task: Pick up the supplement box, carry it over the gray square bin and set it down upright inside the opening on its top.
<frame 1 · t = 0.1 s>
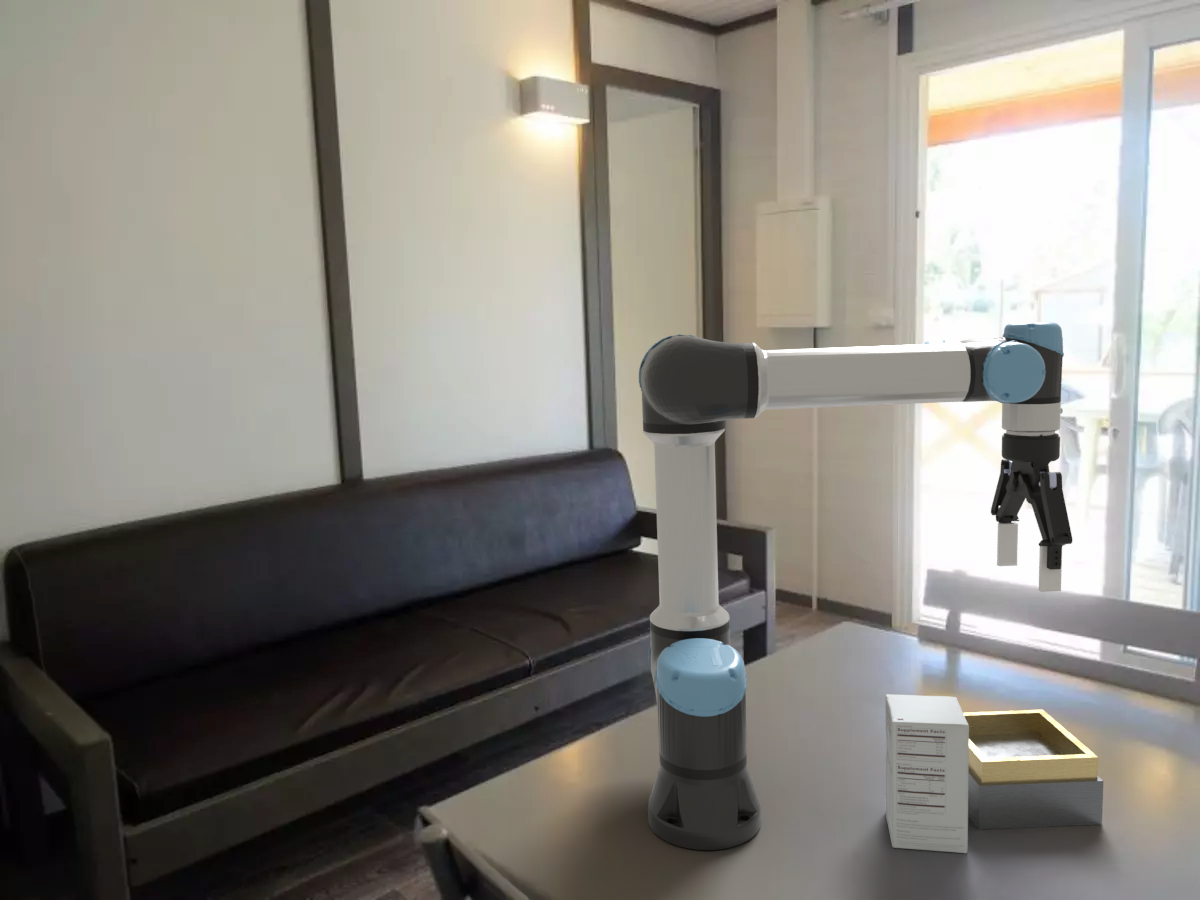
hand: (1027, 577, 136), 28 cm above the table, fingers open, 13 cm apart
gray square bin: (1012, 796, 129), on the table
supplement box: (924, 833, 121), on the table
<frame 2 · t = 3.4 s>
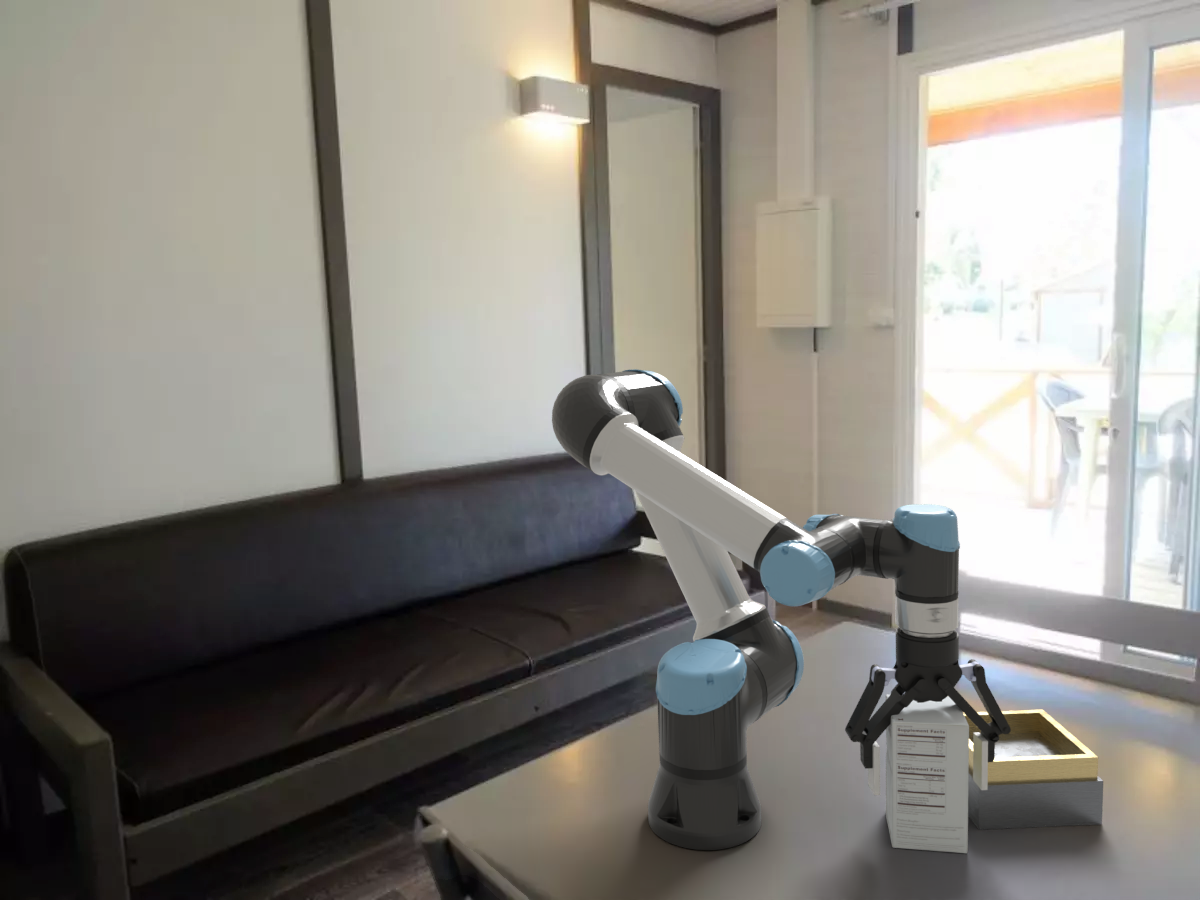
hand: (927, 788, 120), 6 cm above the table, fingers open, 13 cm apart
nothing on the table moved.
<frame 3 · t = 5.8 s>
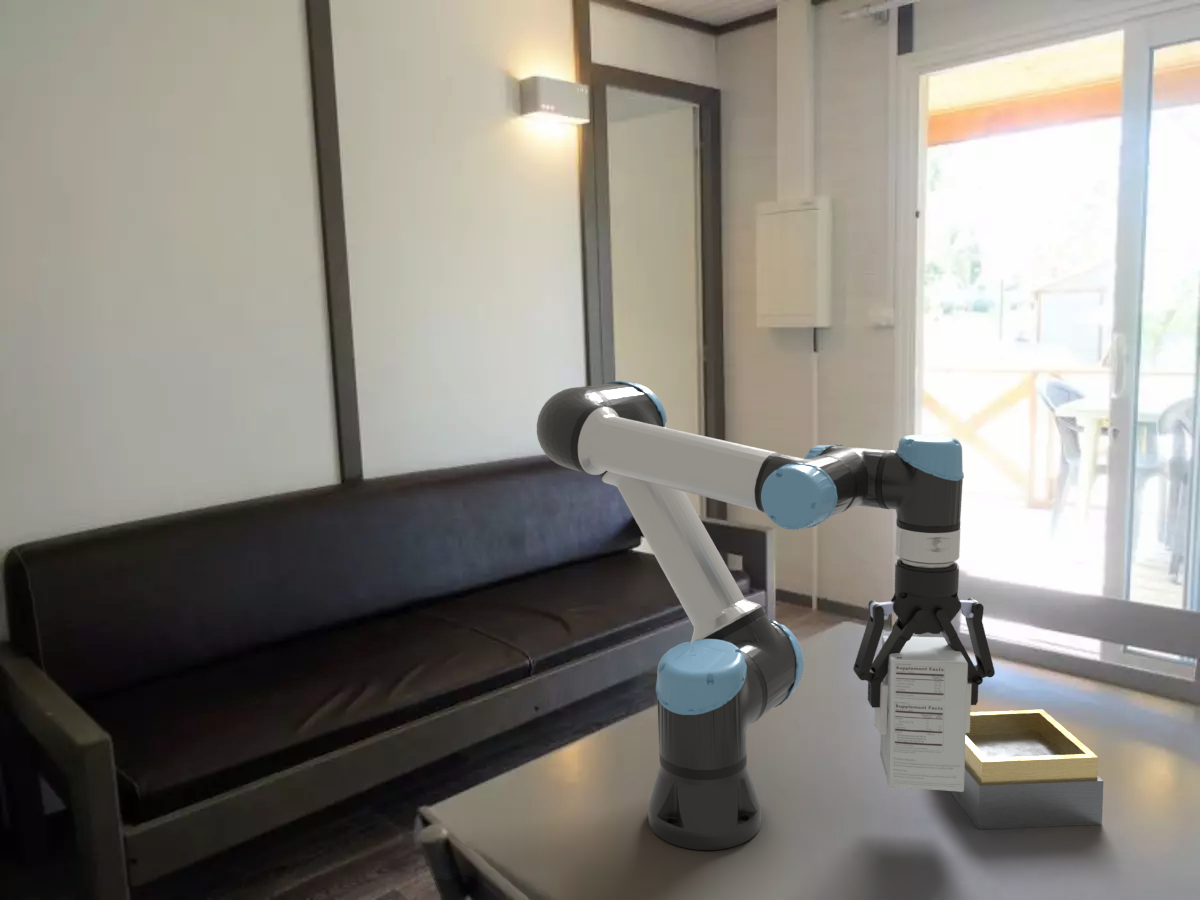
hand: (921, 729, 120), 14 cm above the table, fingers closed on supplement box, 10 cm apart
supplement box: (920, 774, 121), point 8 cm above the table, touching gripper
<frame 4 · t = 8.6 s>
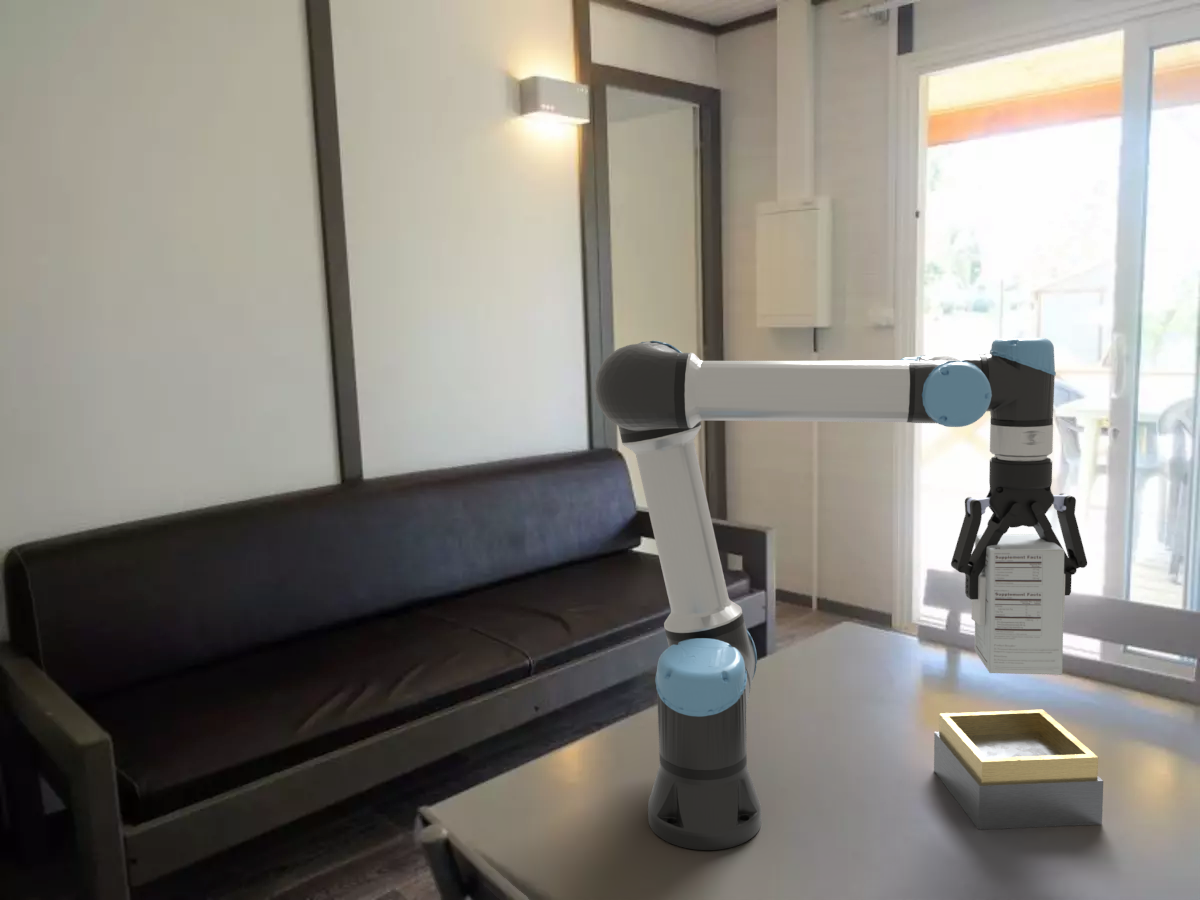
hand: (1017, 620, 126), 25 cm above the table, fingers closed on supplement box, 10 cm apart
supplement box: (1016, 663, 127), point 19 cm above the table, touching gripper
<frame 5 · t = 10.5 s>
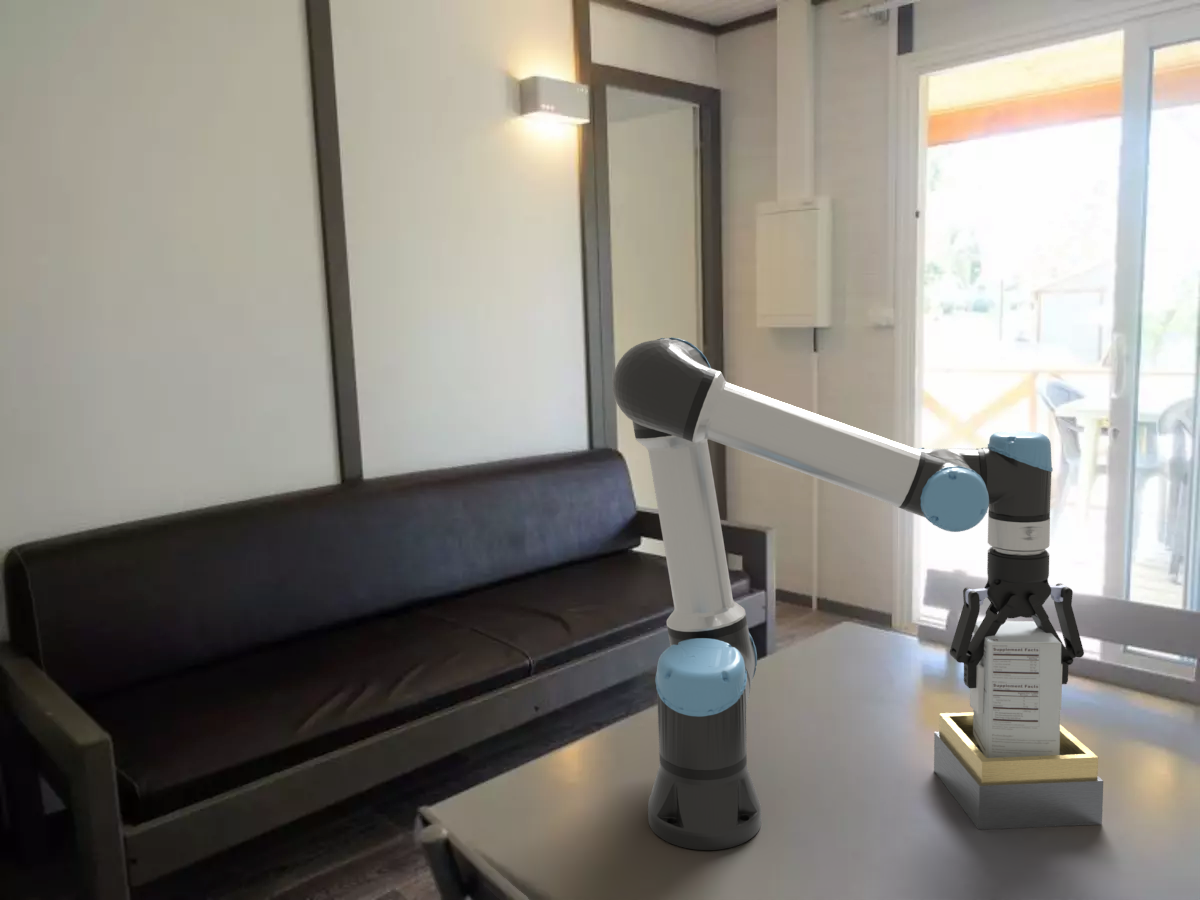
hand: (1015, 707, 127), 13 cm above the table, fingers closed on supplement box, 10 cm apart
supplement box: (1014, 750, 128), point 7 cm above the table, touching gripper
when the fingers open (12 cm above the table, at t = 11.8 s): supplement box stays where it is, resting on gray square bin.
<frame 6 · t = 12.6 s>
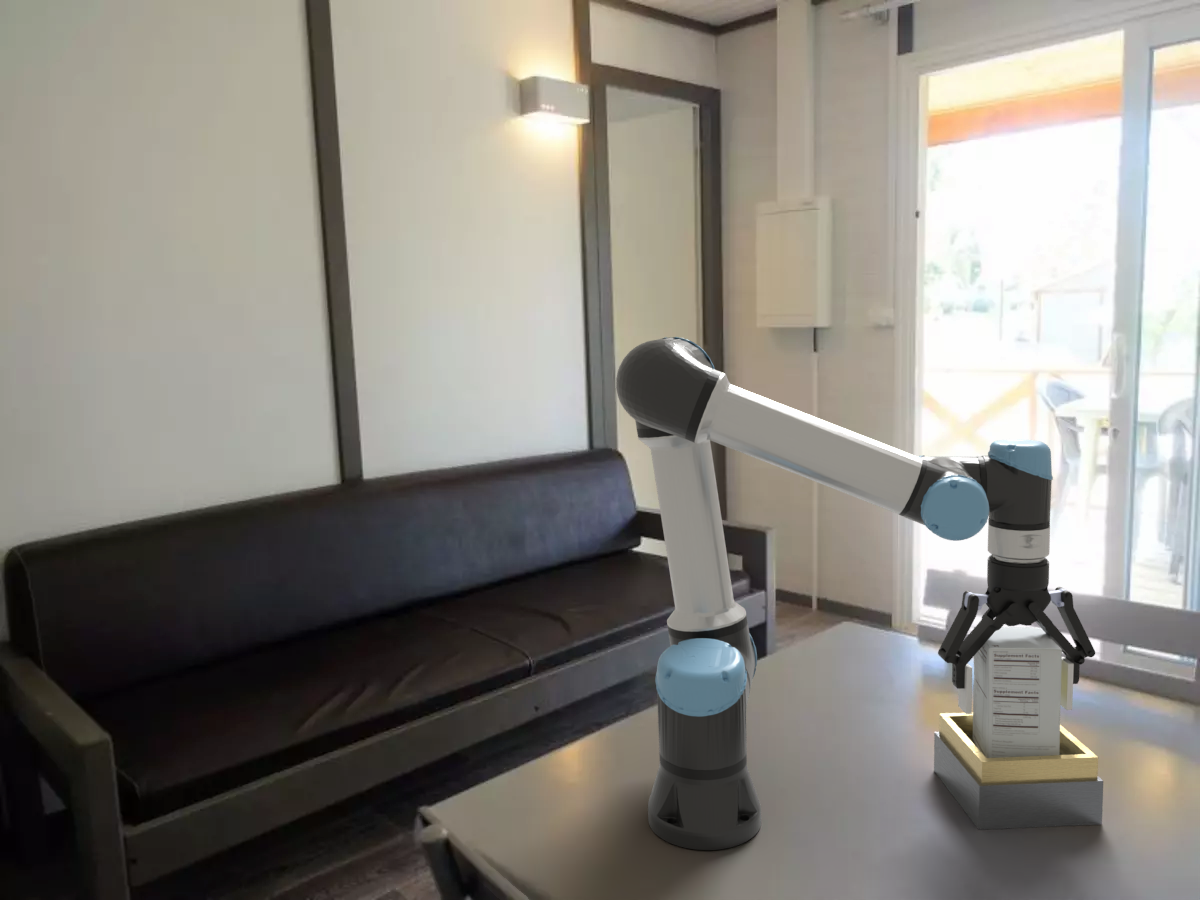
hand: (1014, 708, 127), 13 cm above the table, fingers open, 13 cm apart
supplement box: (1013, 756, 128), point 6 cm above the table, touching gray square bin
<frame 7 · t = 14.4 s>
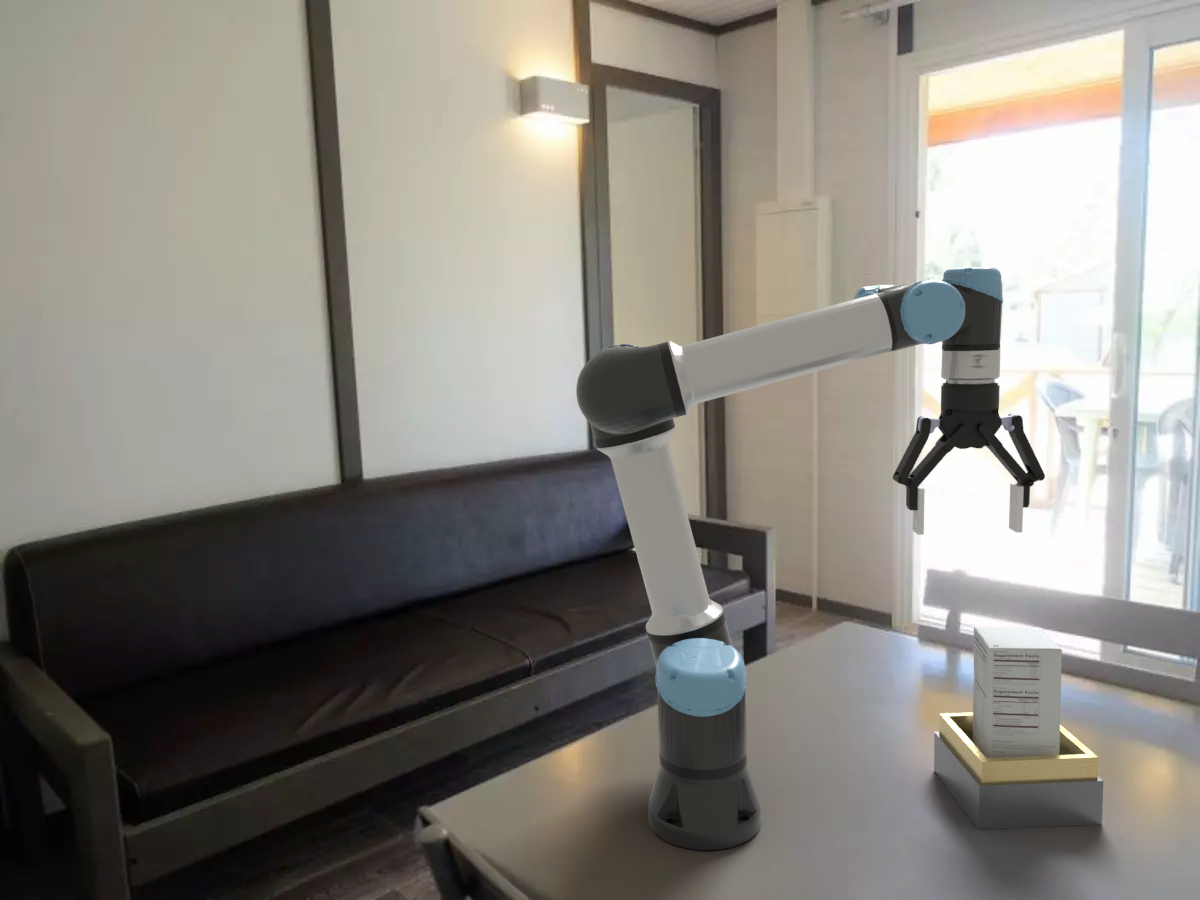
hand: (966, 531, 132), 36 cm above the table, fingers open, 13 cm apart
nothing on the table moved.
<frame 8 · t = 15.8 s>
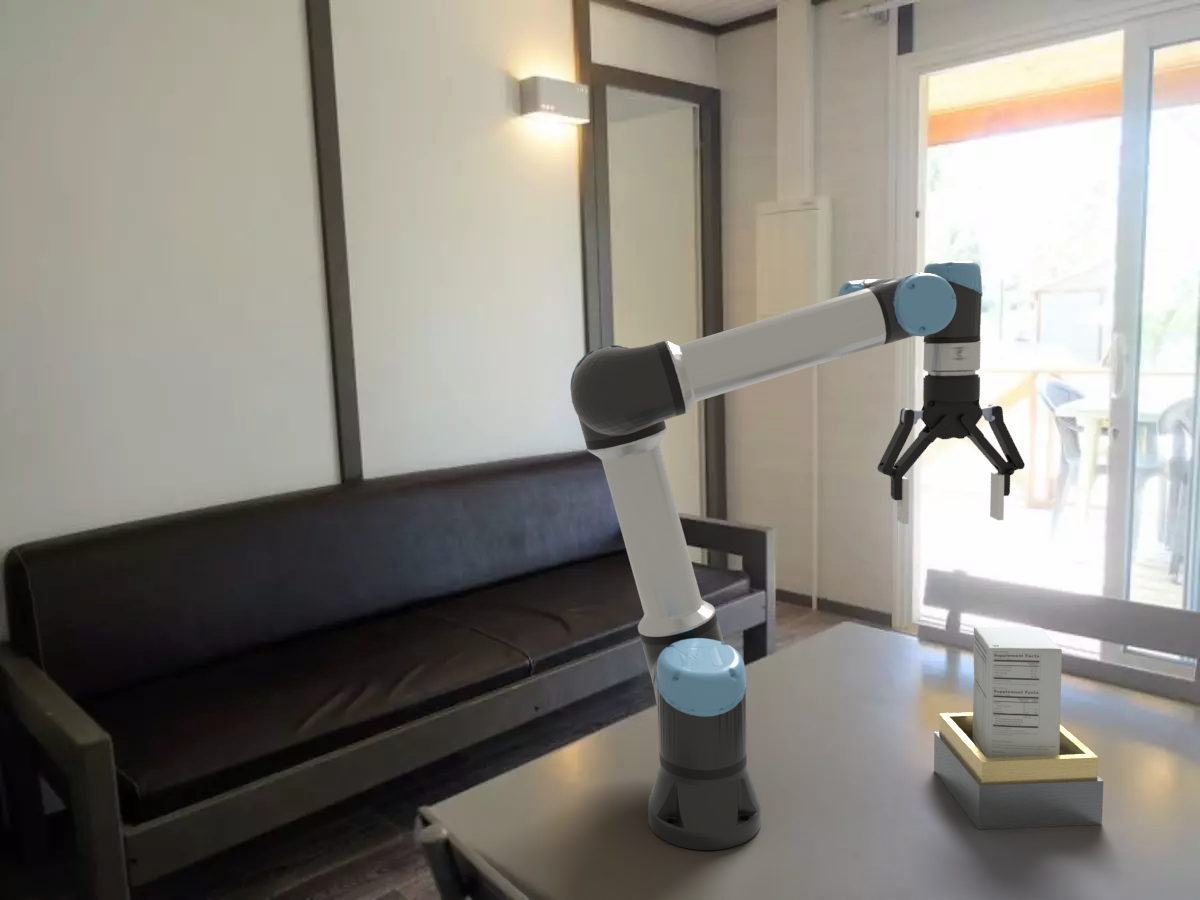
hand: (949, 520, 135), 37 cm above the table, fingers open, 13 cm apart
nothing on the table moved.
at the end: supplement box inside the target area on the gray square bin (0.1 cm from its centre), point 5.8 cm above the gray square bin's base; supplement box tilted 0°; the gripper is holding nothing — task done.
